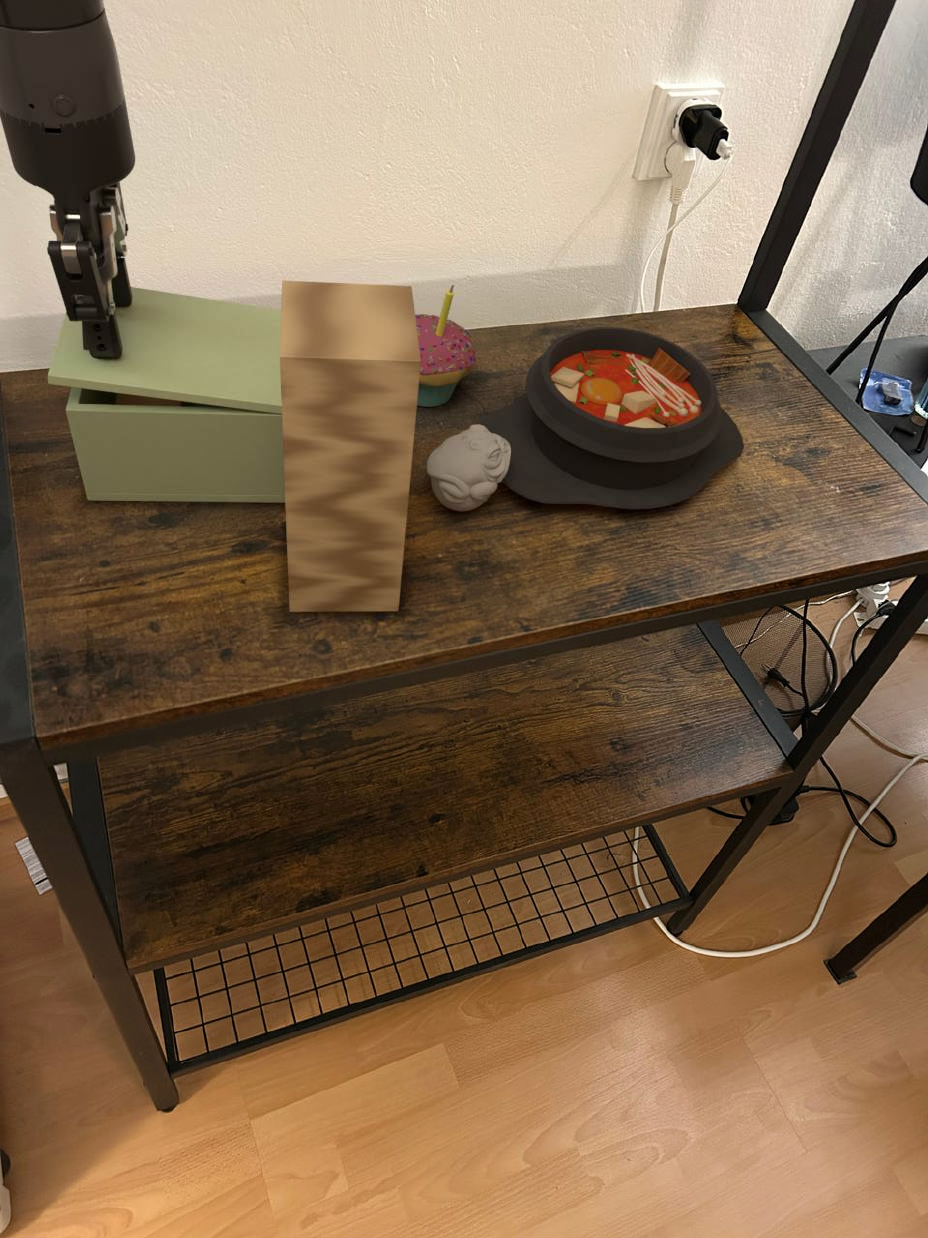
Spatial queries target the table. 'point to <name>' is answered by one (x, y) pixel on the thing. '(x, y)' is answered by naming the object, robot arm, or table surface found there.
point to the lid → (181, 352)
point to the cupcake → (442, 355)
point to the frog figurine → (468, 467)
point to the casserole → (615, 423)
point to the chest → (175, 451)
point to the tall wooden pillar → (347, 441)
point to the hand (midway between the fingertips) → (112, 328)
